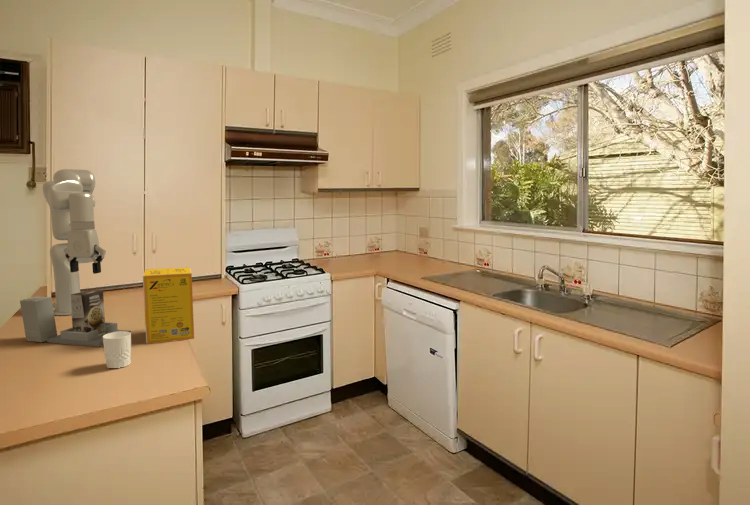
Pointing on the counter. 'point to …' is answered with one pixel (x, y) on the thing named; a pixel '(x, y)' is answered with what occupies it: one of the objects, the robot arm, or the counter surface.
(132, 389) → the counter surface
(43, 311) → the skincare box
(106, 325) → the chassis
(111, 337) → the white cup
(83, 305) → the coffee box
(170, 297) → the packaging box
